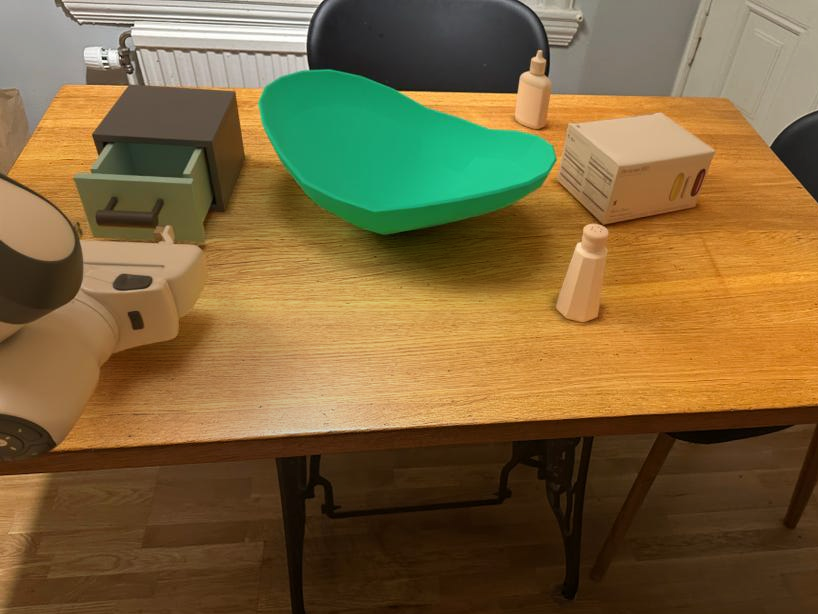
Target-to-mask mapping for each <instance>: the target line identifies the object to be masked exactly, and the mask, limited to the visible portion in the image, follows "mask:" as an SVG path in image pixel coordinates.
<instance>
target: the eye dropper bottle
mask: <svg viewBox="0 0 818 614" xmlns="http://www.w3.org/2000/svg"><path fill="white" fill-rule="evenodd" d="M546 66H547V59H545V57H543V50H541V49H538V50H537V52H536V56H533V57H532V58H531V59H530V66H529V70H528V71H524V72H523V73H521V74H520V76H519V81H518V86H517V95H516V102H515V110H514V119H515V121H517V122H518V123H519V124H520V125H522V126H525V127H527V128H530V129H534V130H539V129H542V128H544V127H545V126H546V125H547V124H546V123H547V117H548V112H549V106H550V100H551V94H552V81H551V80H550V79H549V77H548V76H547V75H546V74H545V72H546Z"/></svg>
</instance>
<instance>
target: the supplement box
mask: <svg viewBox="0 0 818 614" xmlns="http://www.w3.org/2000/svg"><path fill="white" fill-rule="evenodd" d="M561 153H562V154H561V158H560V163H559V168H558V172H557V178H556V181H557V182H559V183H560V184H561V185H562V186H563V187H564V188H565V190H567V191H568V192H569V194H571V195H572V196H573V197H574V199H576V200H577V201H578V202H579V203H580V204H581V205H582V206H583V207H584V208H585V209H587V211H588V212H589V213H590V214H592V215H593V217H595V218H596V220H598V221H599V223H601V225H602V226H604V225H609V224H613V223H618V222H619V223H620V222H625V221H630V220H635V219H639V218H644V217H651V216H656V215H661V214H667V213H673V212H676V211H681V210H686V209H693V208H696V205H697V203H698V200H699V197H700V195H701V192H702V190H703V187H704V184H705V180H706V178H707V176H708V172H709V169H710V166H711V164H712V161H713V158H714V155H715V153H716V150H715V149H714V148H713V147H712V146H710V145H709V144H707V143H706V142H705V141H703V140H702V139H700V138H698V137H697V136H696V135H694V134H693V133H691V132H690V131H688V130H687V129H685V128H684V127H683V126H682V125H680V124H679V123H677V122H676V121H674V120H673V119H671V118H670V117H668V116H667V115H666V114H665V113H663V112H661V111H660V112H655V113H654V112H653V113H646V114H638V115H637V114H636V115H631V116H630V115H629V116H623V117H616V118H615V117H614V118H606V119H599V120H592V121H582V122H569V123H567V129H566V134H565V138H564V143H563V147H562V152H561Z"/></svg>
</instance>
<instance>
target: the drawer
mask: <svg viewBox="0 0 818 614" xmlns="http://www.w3.org/2000/svg"><path fill="white" fill-rule="evenodd" d="M89 170H90V172H76V173H75V174H74V176H73V181H74V184H75V186H76V187H75V188H76V189H77V192H78V195H79V199H80V201H81V204H82V207H83V211H84V214H85V217H86V219H87V223H88V225H89V228H90V232H91V234H92V237H93V239H111V240H113V239H115V240H135V241H137V240H138V241H156V239H155V238H154V234H153V232H154V230H155V229H156V226H157V225H162V226H172V228H173V232H174V241H173V242H183V243H184V242H185V243H187V242H188V243H204V242H205V240H206V237H207V236H206V231H205V227H204V221H205V219H206V217H207V214H208V212H209V211H208V210H209V207H210V205H211V203H212V200H213V198H214V195H215V194H214V189H213V183H212V178H211V173H210V168H209V162H208V157H207V152H206V147H191V146H173V145H155V144H137V143H120V142H108V144H107V145H106V147H105V148H104V149H103V151H102V152H101V154H100V155H99V156H98V157H97V158H96V159H95V161H94V162H93V164H92V165H91V166H90V168H89Z"/></svg>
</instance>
